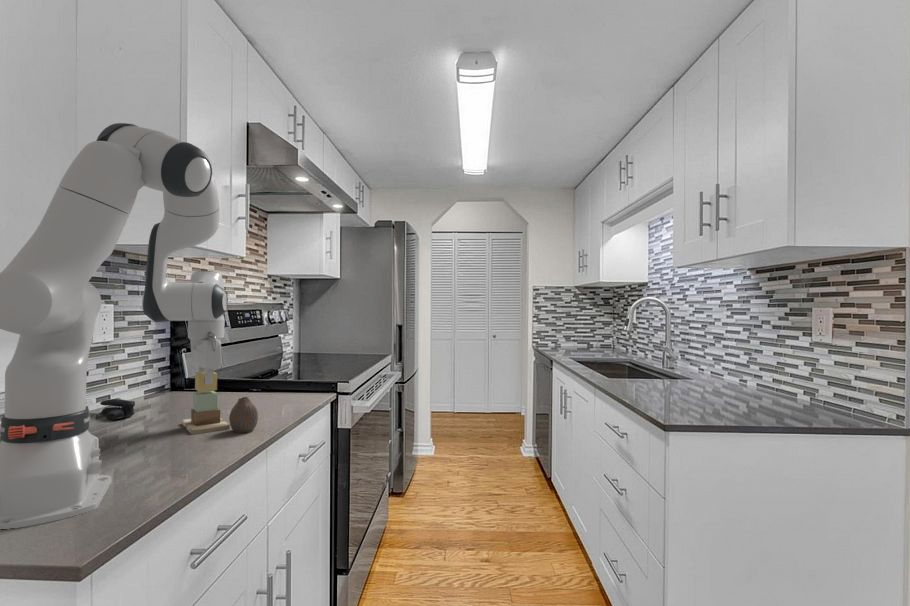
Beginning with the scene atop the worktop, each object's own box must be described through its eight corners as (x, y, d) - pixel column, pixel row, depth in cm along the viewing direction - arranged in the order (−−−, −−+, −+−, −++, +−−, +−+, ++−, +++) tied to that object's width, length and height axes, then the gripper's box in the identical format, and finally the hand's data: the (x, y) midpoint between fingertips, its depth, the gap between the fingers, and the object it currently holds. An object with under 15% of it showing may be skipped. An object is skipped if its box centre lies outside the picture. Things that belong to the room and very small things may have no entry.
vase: (246, 435, 125) (246, 401, 125) (223, 433, 127) (223, 399, 127) (263, 429, 132) (263, 396, 132) (241, 427, 134) (241, 394, 134)
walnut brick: (220, 422, 134) (220, 409, 134) (195, 426, 130) (195, 412, 130) (215, 418, 138) (215, 406, 138) (191, 421, 135) (191, 408, 135)
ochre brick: (216, 389, 134) (217, 373, 134) (198, 391, 131) (198, 374, 131) (213, 387, 137) (213, 371, 137) (195, 389, 134) (195, 372, 134)
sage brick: (217, 409, 134) (217, 393, 134) (196, 412, 130) (196, 395, 130) (213, 406, 137) (213, 390, 137) (193, 409, 134) (193, 392, 134)
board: (229, 429, 131) (229, 425, 131) (191, 434, 126) (191, 430, 126) (217, 419, 142) (217, 415, 142) (182, 424, 137) (182, 419, 137)
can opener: (140, 418, 144) (140, 399, 144) (112, 422, 139) (113, 402, 139) (117, 410, 155) (117, 392, 155) (90, 414, 149) (90, 395, 149)
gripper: (228, 333, 128) (227, 386, 128) (211, 329, 144) (210, 377, 144) (201, 333, 124) (200, 389, 124) (186, 330, 140) (186, 379, 140)
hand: (205, 382), depth 134 cm, fingers closed on ochre brick, 4 cm apart
